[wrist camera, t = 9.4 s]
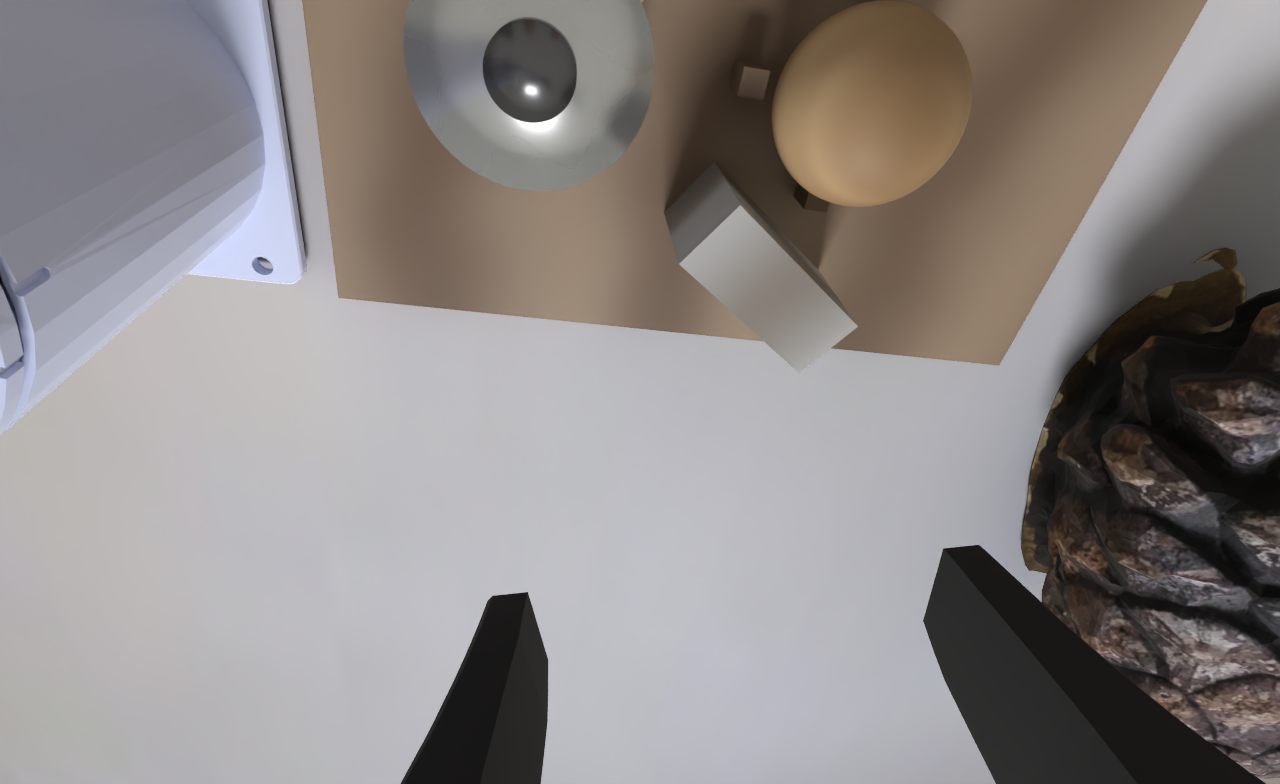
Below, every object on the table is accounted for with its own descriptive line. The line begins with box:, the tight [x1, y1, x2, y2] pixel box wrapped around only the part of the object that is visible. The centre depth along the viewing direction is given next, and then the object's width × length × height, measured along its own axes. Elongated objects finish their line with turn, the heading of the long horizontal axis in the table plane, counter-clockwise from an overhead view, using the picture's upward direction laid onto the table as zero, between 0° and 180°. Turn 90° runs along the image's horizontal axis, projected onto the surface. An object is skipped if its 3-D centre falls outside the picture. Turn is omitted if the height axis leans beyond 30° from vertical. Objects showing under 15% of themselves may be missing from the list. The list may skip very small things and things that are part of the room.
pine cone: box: [1021, 248, 1280, 779], centre depth 21 cm, size 10×18×10 cm, turn 23°
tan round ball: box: [772, 0, 972, 207], centre depth 14 cm, size 4×4×4 cm
